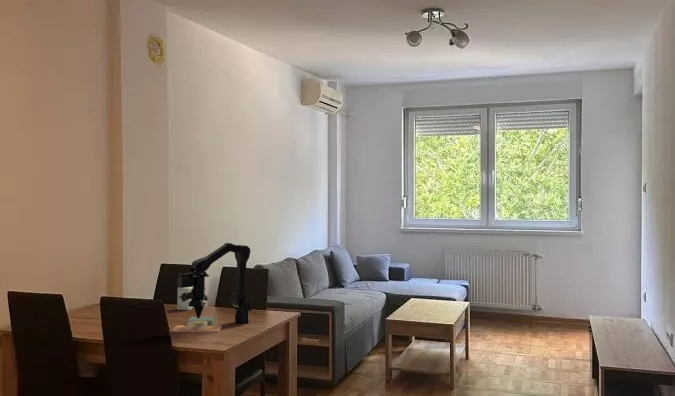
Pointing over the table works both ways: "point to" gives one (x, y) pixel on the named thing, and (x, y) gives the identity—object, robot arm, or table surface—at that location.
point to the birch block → (196, 324)
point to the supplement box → (185, 304)
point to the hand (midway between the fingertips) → (198, 318)
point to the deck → (203, 319)
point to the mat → (184, 329)
